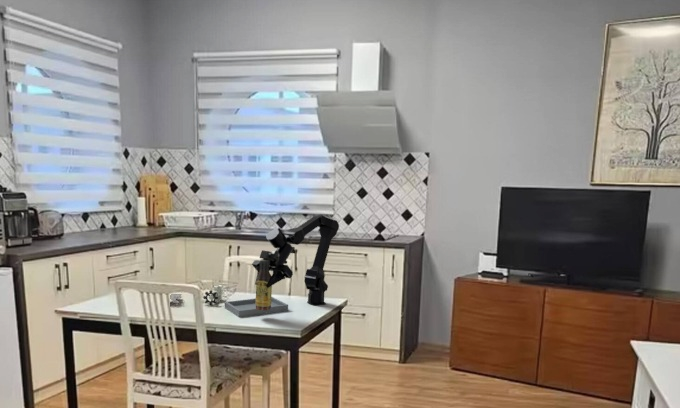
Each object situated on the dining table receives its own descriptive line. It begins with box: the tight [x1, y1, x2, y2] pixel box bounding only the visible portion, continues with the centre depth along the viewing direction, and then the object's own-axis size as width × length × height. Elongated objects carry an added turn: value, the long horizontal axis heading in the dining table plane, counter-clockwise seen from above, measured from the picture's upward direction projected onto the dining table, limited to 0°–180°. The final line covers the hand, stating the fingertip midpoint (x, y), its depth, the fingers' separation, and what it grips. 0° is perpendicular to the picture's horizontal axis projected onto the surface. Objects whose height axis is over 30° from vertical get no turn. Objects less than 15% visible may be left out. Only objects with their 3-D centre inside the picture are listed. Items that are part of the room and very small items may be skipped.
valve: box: [202, 284, 224, 306], centre depth 226 cm, size 7×7×12 cm
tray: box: [224, 296, 289, 318], centre depth 215 cm, size 22×17×2 cm
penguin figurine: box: [170, 294, 183, 305], centre depth 225 cm, size 6×8×12 cm
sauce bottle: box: [255, 258, 273, 310], centre depth 201 cm, size 7×6×20 cm
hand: (261, 285), depth 200 cm, fingers closed on sauce bottle, 6 cm apart
